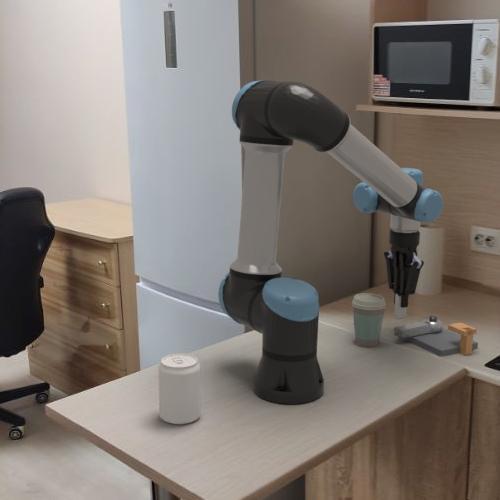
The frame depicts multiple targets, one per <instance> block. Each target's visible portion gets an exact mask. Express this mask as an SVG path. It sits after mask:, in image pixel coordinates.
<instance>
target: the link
mask: <svg viewBox="0 0 500 500" xmlns="http://www.w3.org/2000/svg"><path fill="white" fill-rule="evenodd" d="M442 328H443V320H442V319H440V318H438V316H436V315H430V316H429V317H426V318H423V319H422V321H416V322H411V323H407V324H406V323H405V324H400V325H397V326H394V328H393V330H394V331H393V336H395V337H397V338H400V339H402V338H407V337H412V336H416V335H421V334H426V333H438V332H441V331H442Z"/></svg>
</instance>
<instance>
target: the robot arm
mask: <svg viewBox="0 0 500 500" xmlns="http://www.w3.org/2000/svg"><path fill="white" fill-rule="evenodd" d="M231 117H232V121H233V123H234V124H235V125H236V128H237V129H239V144H240V145H241V146H242V147H243V149H244V150H245V154H244V166H243V167H244V169H243V179H242V180H243V183H242V197H241V207H240V208H241V209H240V219H239V221H240V222H239V232H238V233H239V234H238V246H237V255H236V257H237V258H236V259H235V260H234V261H233V262H231V263H230V265H229V271H228V273H226V274H225V276H224V278H223V279H221V282H220V283H219V287H218V292H217V293H218V303H219V306H220V308H221V309H222V311H223V312H224V314H225V315H226V316H227V317H229V318H230V319H232V320H233V321H234V322H235V323H237V324H239V325H243V326H245V327H246V328H247V327H248V328H249V329H251V330H254V331H255V332H258V333H259V334H261V335H262V337H261V339H262V341H261V343H262V344H261V345H262V348H261V349H262V351H261V357H260V360H259V363H258V366H257V368H256V371H255V374H254V377H253V388H252V389H253V392H254V394H255V395H256V396H258V397H259V398H261V399H263V400H266V401H268V402H271V403H276V404H282V405H296V404H297V405H298V404H299V405H300V404H306V403H310V402H313V401H316V400H318V399H320V398H321V397H322V396H323V394H324V392H325V391H324V390H325V380H324V377H323V373H322V370H321V366H320V363H319V360H318V334H319V317H320V316H319V314H320V304H319V292H318V291H317V288H315V287H314V286H313V285H311V284H310V283H309V282H307V281H304V280H301V279H293V278H292V277H282V274H283V273H282V272H283V269H282V267H281V265H279V263H278V262H277V252H278V251H277V250H278V241H279V240H278V239H279V227H280V216H281V215H280V214H281V203H282V193H283V192H282V191H283V184H284V183H283V182H284V172H285V171H284V170H285V169H284V168H285V159H286V153H287V152H289V151H290V150H291V149H292V148H294V147H293V146H294V140H295V141H297V142H302V143H304V144H307V145H309V146H310V147H312V148H313V149H314V150H315V151H317V152H318V153H321V154H322V153H323V154H325V153H326V154H328V155H330V156H331V157H332V158H333V159H334V160H335V161H337V162H339V163H340V164H341V165H342V166H343V167H344V168H345V169H346V170H348V171H349V172H350V173H352V174H353V175H355V176H356V177H357V178H358V179H359V180H361V181H362V182H360V183H358V184H357V185H356V186H355V188H354V190H353V195H352V199H353V204H354V206H355V208H356V210H358V211H359V212H360V213H365V214H366V213H367V214H368V213H370V214H372V213H375V212H377V213H381V214H382V213H383V214H386V215H390V219H389V221H390V222H389V228H390V231H389V244H390V245H391V247H390V250H388V251H384V252H383V256H384V260H385V263H386V271H387V273H386V274H387V281H388V289H389V290H392V292H393V293H394V295H393V297H394V298H393V299H394V300H393V304H394V314H393V316H394V319H396V320H398V321H400V320H403V319H406V318H407V310H408V309H407V308H408V306H409V296H410V295H414V294H415V293H416V289H417V286H418V282H419V278H420V273H421V270H422V268H423V266H424V264H425V262H424V260H420V259H419V257H418V252H417V247H418V246H419V245H420V241H421V240H420V238H421V233H420V231H419V230H420V229H421V223H422V222H423V223H432V222H435V221H436V220H437V219H438V218H439V217H440V216H441V214H442V211H443V207H444V199H443V197H442V194H441V193H440V192H439V191H437V190H434V189H431V188H428V187H427V188H425V187H424V178H423V177H424V174H423V171H422V170H420V169H419V168H418V169H417V168H412V167H411V168H410V167H402V168H401V167H400V166H399V165H397V163H396V162H394V161H393V160H392V159H391V158H390V157H388V155H387V154H385V153H384V152H383V151H382V150H380V148H379V147H378V146H376V145H375V144H374V143H373V142H371V140H369V138H367V137H366V136H365V135H364V134H362V133H361V132H360V131H359V130H358V129H357V128H356V127H354V125H352V124H351V117H350V116H349V115H348V113H346V112H345V111H344V110H343V109H342V108H340V106H338V105H337V104H336V103H335V102H333V101H332V100H331V99H330V98H329V97H328V96H327V95H325V94H323V93H322V92H320V91H319V90H318V89H316V88H314V87H313V86H310V85H309V84H306V83H303V82H301V81H293V80H292V81H284V80H271V79H261V80H254V81H250V82H248V83H246V84H245V85H244V86H243V87H241V88H240V90H238V92H237V93H236V95H235V97H234V99H233V103H232V107H231ZM415 295H416V294H415Z"/></svg>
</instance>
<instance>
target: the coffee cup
mask: <svg viewBox="0 0 500 500" xmlns="http://www.w3.org/2000/svg"><path fill="white" fill-rule="evenodd" d="M351 302H352V303H351V306H352V311H353V312H352V315H353V327H354V328H353V329H354V340H355V344H356V345H357V346H361V347H367V348H373V347H376V346H379V342H380V337H381V333H382V326H383V322H384V321H383V320H384V316H385V308H387V303H386V299H385V297H384V296H383V295H381V294H377V293H372V292H365V293H357V294H355V295H354V296H353V299H352V300H351Z"/></svg>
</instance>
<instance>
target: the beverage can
mask: <svg viewBox="0 0 500 500" xmlns="http://www.w3.org/2000/svg"><path fill="white" fill-rule="evenodd" d="M201 380H202V379H201V364H200V362H199V358H198V357H196V356H195V355H192V354H188V353H173V354H169V355H165V356H164V357H162V358H161V360H160V363H159V365H158V402H159V403H158V406H159V407H158V409H159V413H158V414H159V417H160V419H161V420H162V421H164V422H166V423H170V424H172V425H186V424H190V423H192V422H195V421H196V420H198V419H199V418H200V416H201V408H202V407H201V386H202V385H201Z"/></svg>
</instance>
